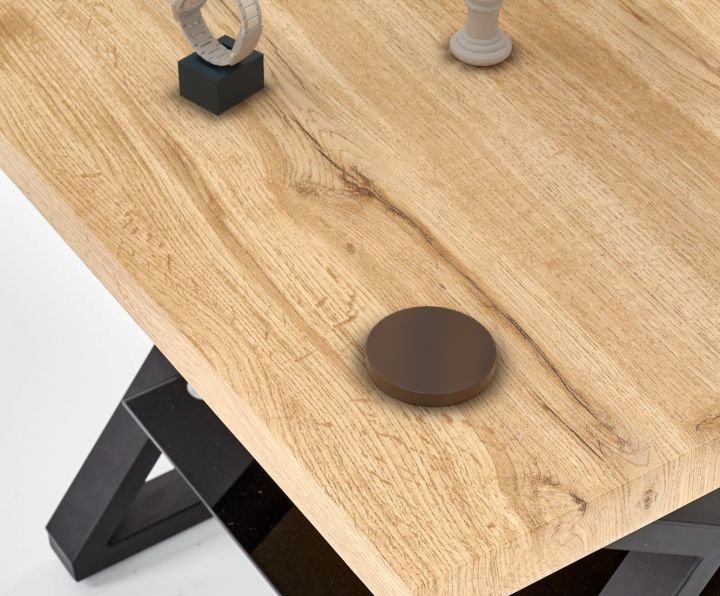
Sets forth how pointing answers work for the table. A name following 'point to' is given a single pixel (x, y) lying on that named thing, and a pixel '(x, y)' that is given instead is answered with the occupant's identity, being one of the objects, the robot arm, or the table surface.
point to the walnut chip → (430, 356)
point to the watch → (219, 57)
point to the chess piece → (481, 35)
